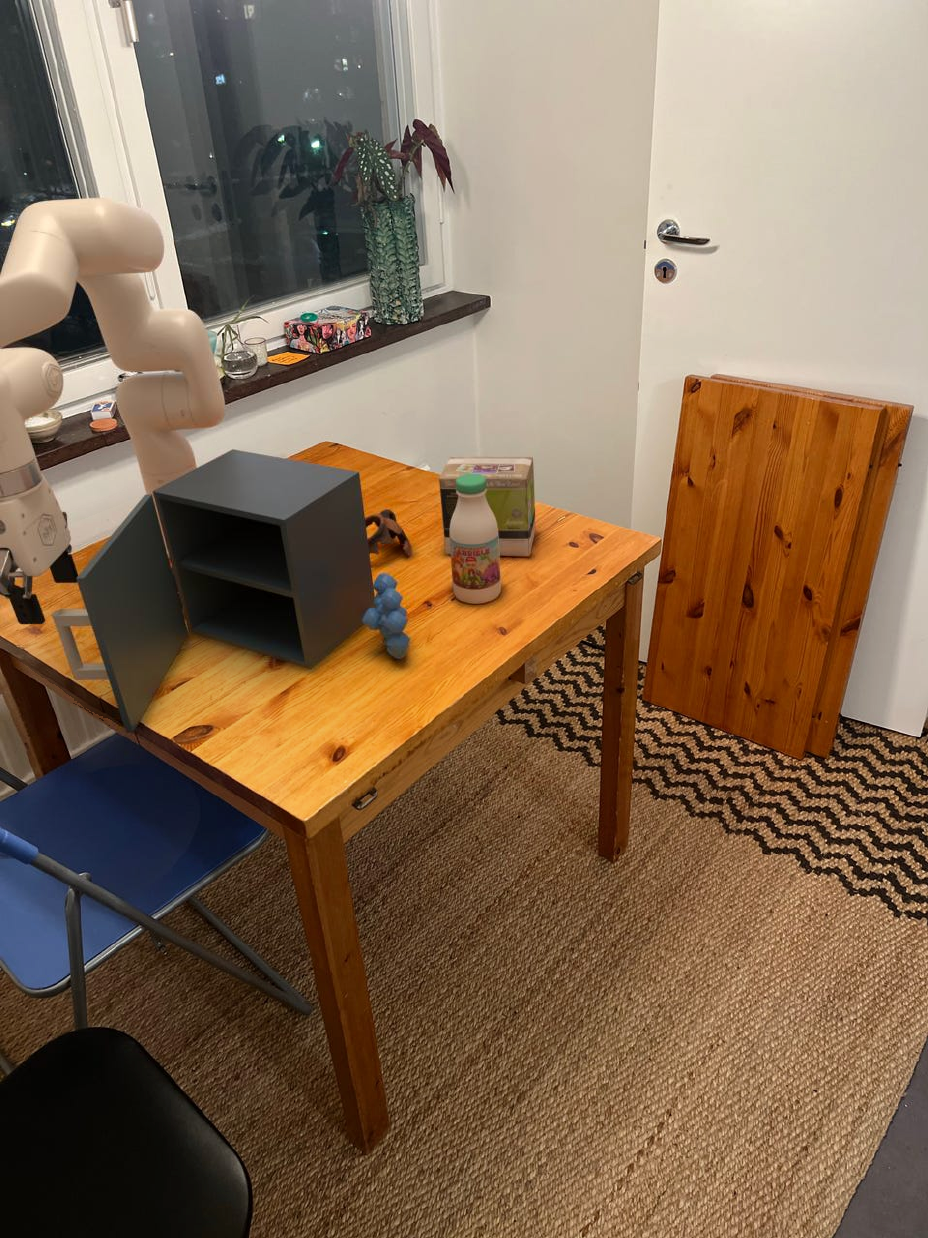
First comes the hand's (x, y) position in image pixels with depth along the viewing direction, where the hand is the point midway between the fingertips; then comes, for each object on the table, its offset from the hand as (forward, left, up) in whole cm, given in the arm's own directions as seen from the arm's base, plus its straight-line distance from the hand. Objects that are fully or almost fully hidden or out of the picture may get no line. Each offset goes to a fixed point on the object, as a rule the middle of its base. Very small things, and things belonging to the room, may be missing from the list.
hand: (50, 601), depth 115 cm
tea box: (+27, +67, -19) cm, 74 cm away
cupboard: (+9, +30, -19) cm, 37 cm away
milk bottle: (+33, +51, -19) cm, 63 cm away
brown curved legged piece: (+11, +57, -19) cm, 61 cm away
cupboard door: (0, +9, -18) cm, 20 cm away
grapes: (+29, +31, -19) cm, 46 cm away
